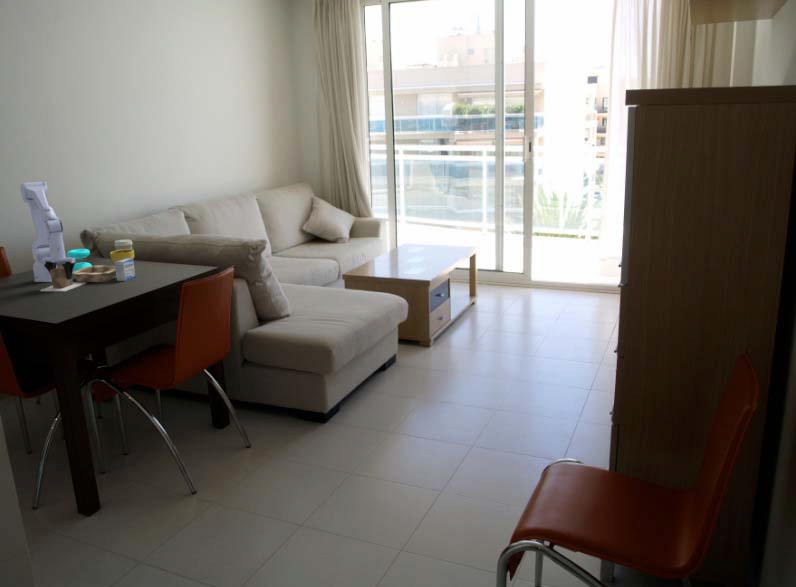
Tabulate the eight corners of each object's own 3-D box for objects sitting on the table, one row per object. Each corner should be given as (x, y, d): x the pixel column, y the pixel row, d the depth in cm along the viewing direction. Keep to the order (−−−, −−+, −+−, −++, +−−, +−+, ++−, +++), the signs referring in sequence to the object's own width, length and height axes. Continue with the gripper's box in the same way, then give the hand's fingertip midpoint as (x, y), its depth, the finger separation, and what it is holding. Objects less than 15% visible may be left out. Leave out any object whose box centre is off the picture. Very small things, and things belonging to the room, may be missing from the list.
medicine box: (125, 281, 301) (123, 262, 299) (116, 281, 302) (114, 262, 300) (136, 277, 309) (133, 258, 306) (127, 276, 310) (124, 258, 307)
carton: (67, 282, 302) (66, 273, 301) (92, 274, 319) (90, 265, 317) (106, 283, 298) (104, 274, 297) (128, 274, 314) (127, 265, 313)
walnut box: (52, 288, 291) (49, 269, 289) (64, 284, 298) (60, 266, 296) (62, 288, 290) (59, 270, 288) (73, 284, 297) (70, 266, 295)
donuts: (94, 249, 326) (75, 253, 318) (97, 269, 328) (78, 273, 320) (80, 247, 331) (62, 251, 323) (84, 267, 333) (65, 272, 325)
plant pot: (110, 274, 315) (107, 254, 313) (116, 270, 325) (113, 249, 322) (134, 273, 317) (131, 252, 314) (138, 268, 326) (135, 248, 324)
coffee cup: (119, 263, 340) (116, 239, 337) (137, 262, 341) (134, 238, 338) (114, 267, 332) (111, 242, 329) (133, 265, 333) (129, 241, 330)
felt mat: (40, 291, 289) (39, 290, 289) (62, 283, 302) (62, 282, 302) (64, 291, 287) (64, 290, 287) (86, 283, 300) (85, 282, 300)
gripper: (35, 249, 288) (41, 281, 291) (65, 249, 285) (70, 281, 288) (47, 246, 295) (52, 277, 298) (76, 246, 292) (81, 277, 295)
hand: (62, 279), depth 294 cm, fingers open, 7 cm apart
